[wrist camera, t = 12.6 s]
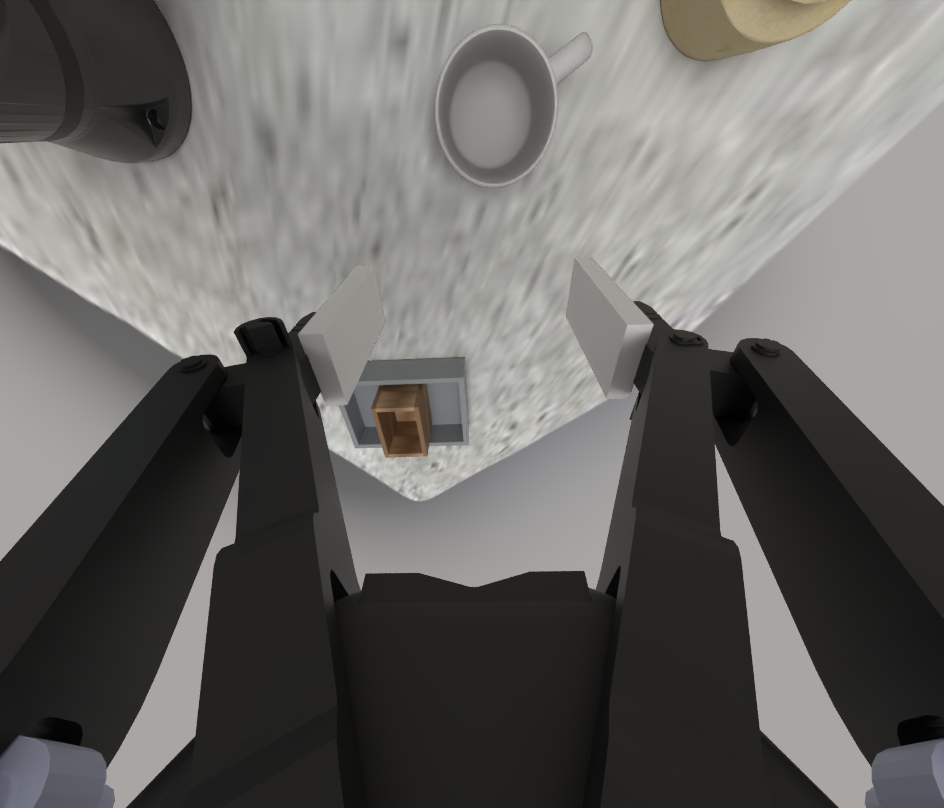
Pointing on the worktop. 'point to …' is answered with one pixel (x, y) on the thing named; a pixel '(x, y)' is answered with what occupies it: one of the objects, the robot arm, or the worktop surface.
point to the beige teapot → (740, 24)
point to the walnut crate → (403, 419)
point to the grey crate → (438, 374)
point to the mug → (501, 102)
